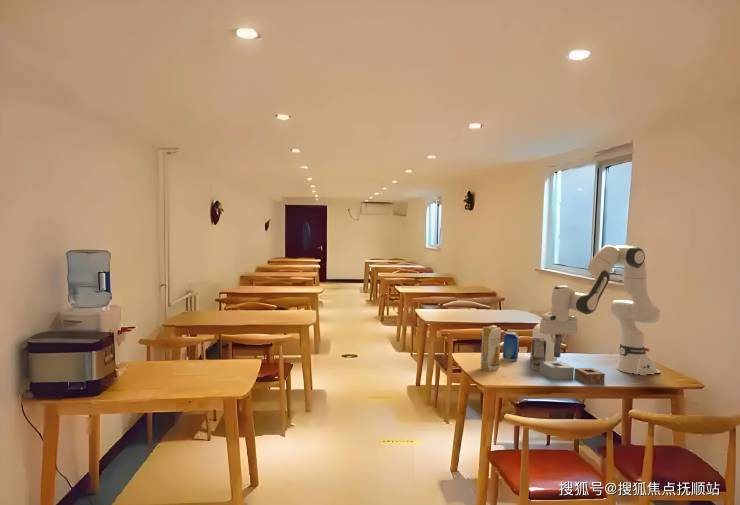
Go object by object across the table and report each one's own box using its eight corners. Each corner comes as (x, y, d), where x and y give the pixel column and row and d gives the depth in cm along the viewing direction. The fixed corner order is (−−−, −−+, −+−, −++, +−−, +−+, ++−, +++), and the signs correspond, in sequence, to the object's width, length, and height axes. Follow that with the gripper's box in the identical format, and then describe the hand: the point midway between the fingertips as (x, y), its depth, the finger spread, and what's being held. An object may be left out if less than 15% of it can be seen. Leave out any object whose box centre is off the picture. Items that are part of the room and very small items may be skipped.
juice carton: (490, 372, 249) (492, 327, 248) (478, 368, 255) (480, 324, 254) (500, 369, 255) (503, 325, 254) (488, 365, 261) (491, 323, 260)
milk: (530, 357, 282) (532, 315, 281) (549, 358, 281) (552, 316, 280) (536, 363, 270) (539, 318, 269) (556, 364, 269) (559, 319, 268)
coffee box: (544, 371, 254) (546, 342, 254) (532, 370, 256) (534, 341, 255) (542, 366, 263) (543, 338, 263) (530, 365, 265) (531, 337, 264)
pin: (558, 355, 249) (559, 331, 248) (562, 357, 245) (564, 333, 245) (551, 355, 248) (553, 331, 248) (555, 357, 244) (557, 333, 244)
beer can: (519, 359, 277) (520, 332, 276) (515, 362, 270) (516, 335, 269) (504, 357, 281) (506, 330, 281) (500, 359, 274) (502, 332, 274)
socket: (559, 372, 254) (560, 361, 254) (573, 379, 243) (573, 367, 242) (539, 372, 252) (540, 361, 252) (552, 379, 240) (552, 368, 240)
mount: (591, 377, 247) (591, 367, 247) (604, 383, 237) (604, 373, 237) (574, 377, 245) (574, 368, 245) (586, 384, 235) (587, 374, 235)
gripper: (573, 315, 251) (571, 341, 251) (538, 314, 247) (537, 340, 247) (581, 317, 245) (579, 343, 245) (545, 317, 241) (543, 343, 241)
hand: (557, 342), depth 246 cm, fingers closed on pin, 3 cm apart
